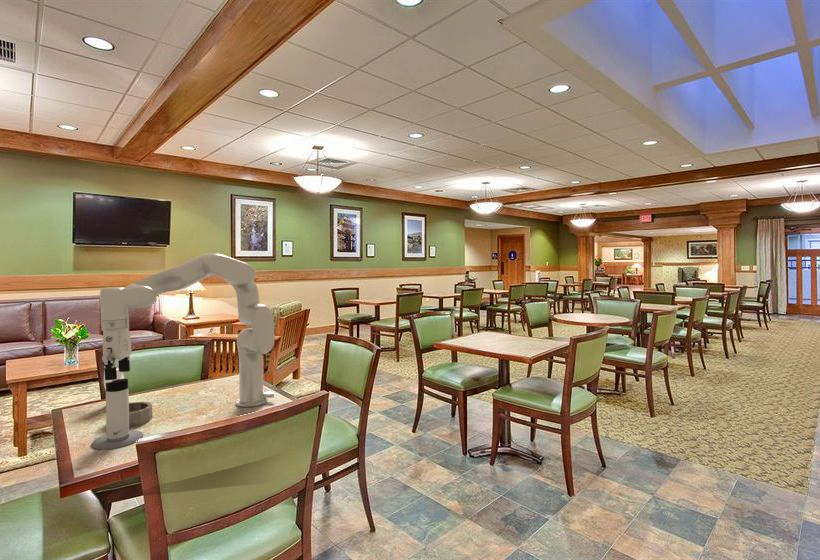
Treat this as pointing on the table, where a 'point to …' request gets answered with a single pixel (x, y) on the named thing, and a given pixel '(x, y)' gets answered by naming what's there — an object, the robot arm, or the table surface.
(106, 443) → the mat
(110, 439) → the travel mug
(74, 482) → the table surface
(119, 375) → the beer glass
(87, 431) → the table surface
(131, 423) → the collar
